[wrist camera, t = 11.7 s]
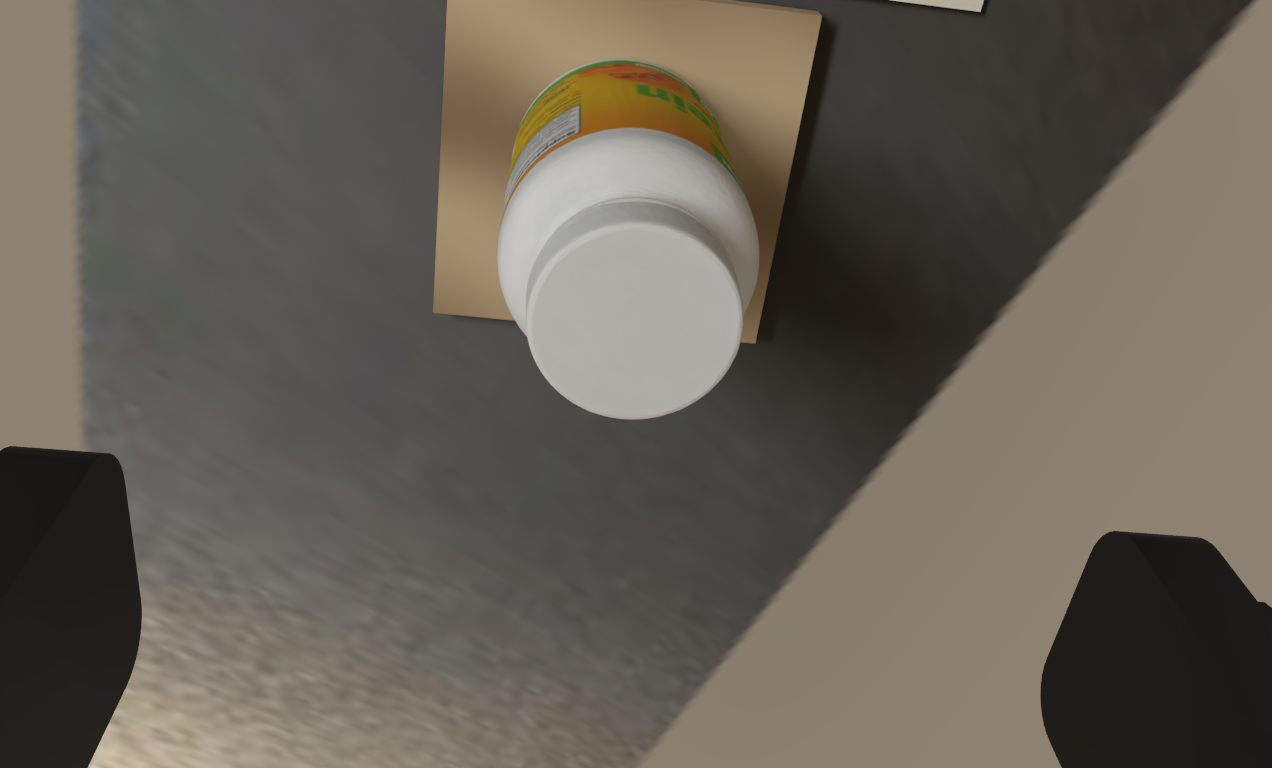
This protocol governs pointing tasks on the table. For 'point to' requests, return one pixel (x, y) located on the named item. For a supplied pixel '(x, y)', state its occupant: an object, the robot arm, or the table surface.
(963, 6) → the tile
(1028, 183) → the table surface
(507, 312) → the oak coaster
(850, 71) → the table surface
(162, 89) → the table surface
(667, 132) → the supplement bottle
